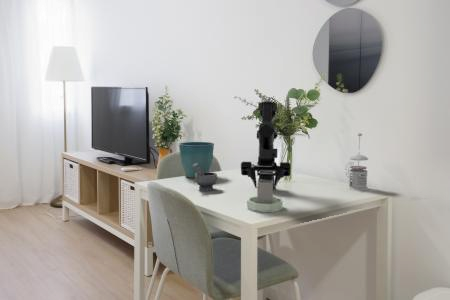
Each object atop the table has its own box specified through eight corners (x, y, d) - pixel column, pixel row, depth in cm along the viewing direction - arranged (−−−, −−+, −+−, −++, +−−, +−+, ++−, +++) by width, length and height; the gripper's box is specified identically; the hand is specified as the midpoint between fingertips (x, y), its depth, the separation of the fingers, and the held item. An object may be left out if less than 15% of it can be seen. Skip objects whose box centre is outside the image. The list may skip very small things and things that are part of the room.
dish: (267, 201, 180) (267, 194, 180) (289, 209, 169) (289, 201, 169) (240, 206, 173) (240, 198, 172) (262, 214, 162) (262, 205, 162)
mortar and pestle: (211, 186, 209) (211, 160, 208) (220, 190, 201) (220, 163, 200) (188, 188, 204) (188, 162, 203) (197, 192, 196) (197, 165, 194)
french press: (373, 189, 204) (376, 133, 200) (353, 191, 198) (356, 134, 195) (358, 185, 212) (360, 131, 209) (338, 187, 207) (340, 132, 204)
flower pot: (175, 174, 240) (175, 142, 237) (208, 172, 245) (208, 140, 243) (183, 180, 222) (182, 146, 220) (218, 178, 228) (218, 144, 226)
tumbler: (257, 204, 174) (258, 179, 172) (272, 204, 173) (272, 180, 172) (257, 207, 168) (257, 182, 167) (272, 208, 168) (272, 183, 166)
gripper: (241, 140, 173) (239, 174, 163) (291, 141, 171) (291, 175, 161) (242, 158, 181) (240, 191, 172) (289, 158, 179) (290, 192, 170)
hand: (265, 187), depth 169 cm, fingers open, 7 cm apart
